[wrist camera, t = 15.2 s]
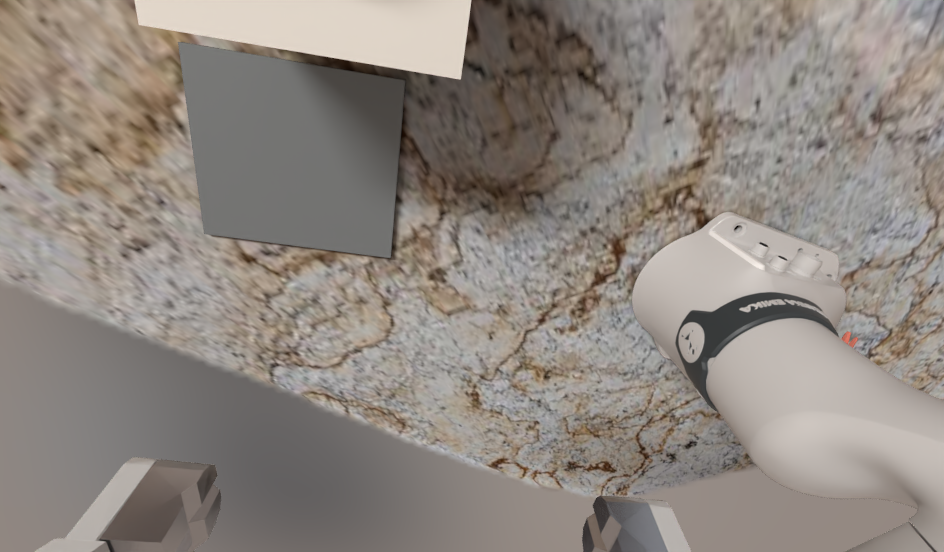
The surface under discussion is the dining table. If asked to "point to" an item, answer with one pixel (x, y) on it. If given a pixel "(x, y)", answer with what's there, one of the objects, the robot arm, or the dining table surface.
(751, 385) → the robot arm
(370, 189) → the mat
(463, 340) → the dining table surface
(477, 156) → the dining table surface
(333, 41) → the cube with grey knob
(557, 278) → the dining table surface
